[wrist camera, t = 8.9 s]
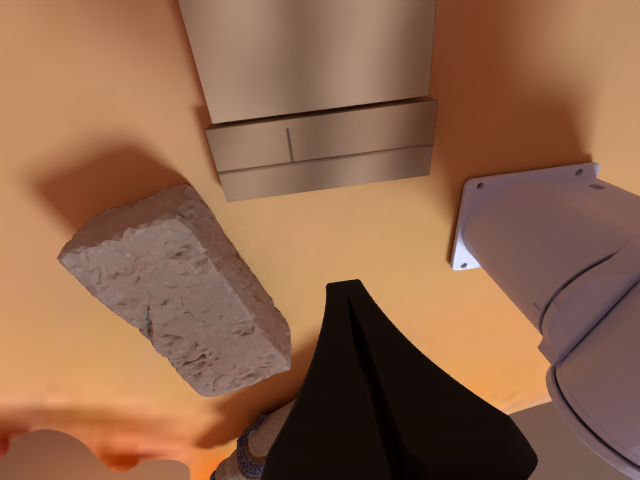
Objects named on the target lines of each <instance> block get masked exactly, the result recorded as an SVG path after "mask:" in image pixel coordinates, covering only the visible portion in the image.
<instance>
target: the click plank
mask: <svg viewBox="0 0 640 480" xmlns="http://www.w3.org/2000/svg"><path fill="white" fill-rule="evenodd" d="M178 2H179V6H180V10H181V13H182V17H183V20H184V24H185V27H186V31H187V35H188V38H189V42H190V45H191V49H192V52H193V56H194V60H195V63H196V67H197V70H198V74H199V77H200V81H201V85H202V88H203V92H204V95H205V99H206V102H207V106H208V110H209V113H210V117H211V120H212V124H214V123H222V122H229V121H237V120H245V119H252V118H260V117H268V116H276V115H283V114H291V113H299V112H306V111H314V110H322V109H330V108H337V107H345V106H353V105H360V104H368V103H376V102H383V101H391V100H399V99H407V98H414V97H422V96H429V88H430V75H431V62H432V49H433V35H434V22H435V9H436V0H178Z"/></svg>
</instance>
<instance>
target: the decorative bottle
mask: <svg viewBox="0 0 640 480" xmlns="http://www.w3.org/2000/svg"><path fill="white" fill-rule="evenodd" d="M295 400H296V399H294V400H293V401H292V402H290V403H288V404H287V405H285V406H283V407H281V408H280V409H278V410H276V411H274V412H273V413H271V414H269V415H265V414H261V415H260V417H259V418H258V421H257V422H256V423H254V424H252V425H250V426H249V427H248V428H246V429H245V430H244V432H243V433H242V434H241V436H240V438H239V439H238V440H237V441H236V442H237V443H238V444H237V449H236V450H235V451H234V452H233V453H232V454H231V455H230V457H228V458H226V459H225V460H223V461H222V462H221V463H220V464H219V465H218V467H217V469H216V470H215V471H213V473H212V475H211V476H210V480H261V476H262V472H263V468H264V465H265V461H266V458H267V454H268V451H269V450H270V448H271V446H272V444H273V442H274V441H275V439H276V437H277V435H278V433H279V432H280V430H281V428H282V426H283V425H284V423H285V421H286V419H287V417H288V415H289V413H290V411H291V409H292V407H293V405H294V402H295ZM262 416H263V417H262Z"/></svg>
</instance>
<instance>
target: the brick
mask: <svg viewBox="0 0 640 480" xmlns="http://www.w3.org/2000/svg"><path fill="white" fill-rule="evenodd" d="M57 259H58V261H59V262H60V263H61V264H62V265H63V266H64V267H65V268H66V269H67V270H68V271H69V272H70V273H71V274H72V275H74V276H75V278H76V279H77V280H78V281H79V282H80V283H81V284H82V285H83V286H85V287H86V289H87V290H88V291H89V292H90V293H91V295H92V296H94V297H96V298H97V299H98V300H99V301H100V302H101V303H102V304H104V305H106V306H107V307H108V308H109V309H110V310H111V311H113V312H114V313H116V314H117V315H118V316H120V317H121V318H123V319H124V320H125V321H126V322H128V323H129V324H131V325H132V326H134V327H136V328H139V331H140V332H141V333H142V334H143V335H144V336H145V337H146V338H147V339H149V340H150V341H151V343H152V345H153V347H154V348H155V350H156V351H157V352H158V353H161V355H162V356H163V357H167V358H168V360H169V362H170V363H171V365H172V366H173V367H174V368H176V371H177V373H178V374H180V375H181V377H182V378H183V379H184V380H185V381H186V382H187V383H188V384H189V385H190V386H191V387H192V388H193V389H194V390H195V391H196V392H197V393H198V394H199V395H200V396H206V397H214V396H219V395H221V394H225V395H226V394H228V393H230V392H232V391H236V390H238V389H241V388H243V387H247V386H251V385H253V384H255V383H257V382H259V381H261V380H264V379H266V378H269V377H270V376H271V375H273V374H277V373H281V372H284V371H288V370H290V367H291V364H292V361H291V350H292V348H291V333H290V328H289V326H288V323H287V322H286V321H285V319H284V318H283V316H282V314H281V312H279V311H278V310H277V309H276V308H274V302H273V300H272V299H271V298H270V297H269V296H268V294H267V293H266V291H265V290H264V288H263V287H262V285H261V284H260V282H259V281H258V279H257V277H256V276H255V275H254V274H253V273H252V272H251V270H250V268H249V267H248V265H247V264H246V263H245V261H244V260H243V259H242V258H241V257H240V255H239V253H238V252H237V250H236V249H235V247H234V246H233V244H232V243H231V242H230V241H229V239H228V238H227V237H226V236H225V234H224V232H223V229H222V228H221V226H220V225H219V224H218V222H217V220H216V218H215V217H214V216H213V214H212V212H211V211H210V209H209V208H208V207H207V206H206V205H205V204H204V202H203V201H202V199H201V197H200V196H199V195H198V194H197V193H196V191H195V190H194V189H193V188H192V187H191V186H189V185H188V184H179V185H175V186H173V187H165V188H162V189H161V190H160V191H158V192H156V193H155V194H154V195H150V196H149V197H148V198H145V199H142V200H138V201H136V202H135V203H132V204H126V205H123V206H121V207H115V208H111V209H107V210H105V211H104V212H102V213H100V214H98V215H95V216H93V217H92V218H91V219H90V220H89V221H88V222H87V223H85V225H84V226H83V228H81V229H80V230H79V231H78V232H77V233H75V234H74V235H73V238H72V240H70V241H69V242H67V243H66V244H65V246H64V247H63V249H62V250H61V252H60V254H59V256H58V257H57Z"/></svg>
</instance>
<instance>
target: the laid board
mask: <svg viewBox="0 0 640 480" xmlns="http://www.w3.org/2000/svg"><path fill="white" fill-rule="evenodd" d="M436 108H437V100H435V99H432V98H429V97H427V98H419V99H412V100H404V101H396V102H388V103H381V104H373V105H365V106H358V107H350V108H342V109H334V110H327V111H319V112H311V113H304V114H296V115H288V116H281V117H273V118H265V119H257V120H250V121H242V122H234V123H227V124H219V125H211V126H209V127H208V128H207V129H206V130H205V132H206V136H207V139H208V142H209V145H210V149H211V152H212V155H213V158H214V162H215V165H216V168H217V171H218V175H219V178H220V181H221V185H222V188H223V191H224V194H225V198H226V201H227V202H234V201H242V200H249V199H256V198H264V197H271V196H278V195H286V194H293V193H301V192H308V191H315V190H323V189H330V188H337V187H345V186H352V185H359V184H367V183H374V182H382V181H389V180H396V179H404V178H411V177H418V176H426V175H429V174H430V165H431V155H432V147H433V136H434V127H435V117H436Z"/></svg>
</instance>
